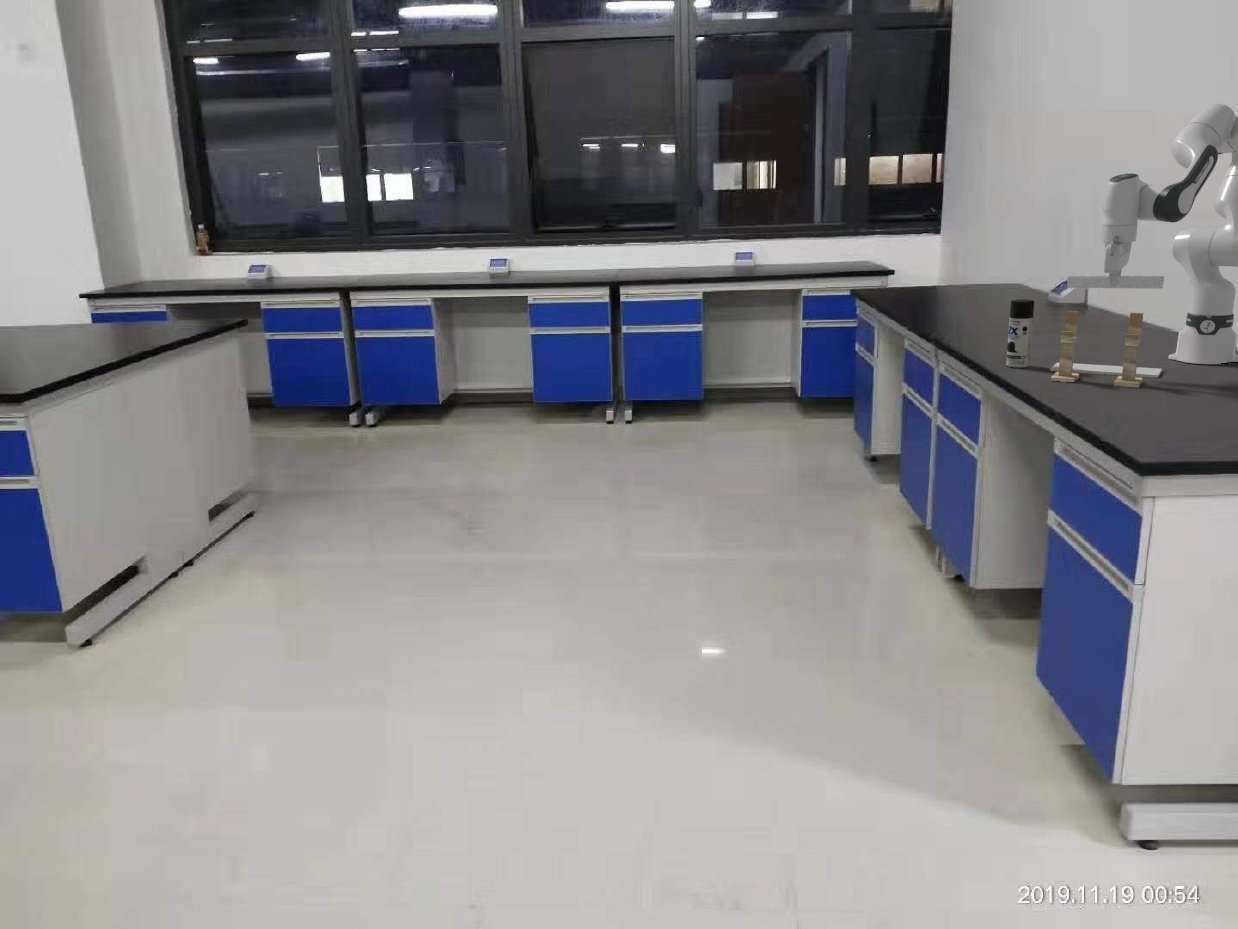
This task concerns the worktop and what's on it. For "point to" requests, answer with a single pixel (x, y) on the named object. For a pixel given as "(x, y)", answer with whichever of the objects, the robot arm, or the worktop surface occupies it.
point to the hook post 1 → (1067, 349)
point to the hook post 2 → (1131, 353)
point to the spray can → (1020, 333)
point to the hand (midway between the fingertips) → (1114, 285)
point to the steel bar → (1122, 282)
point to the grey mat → (1110, 370)
